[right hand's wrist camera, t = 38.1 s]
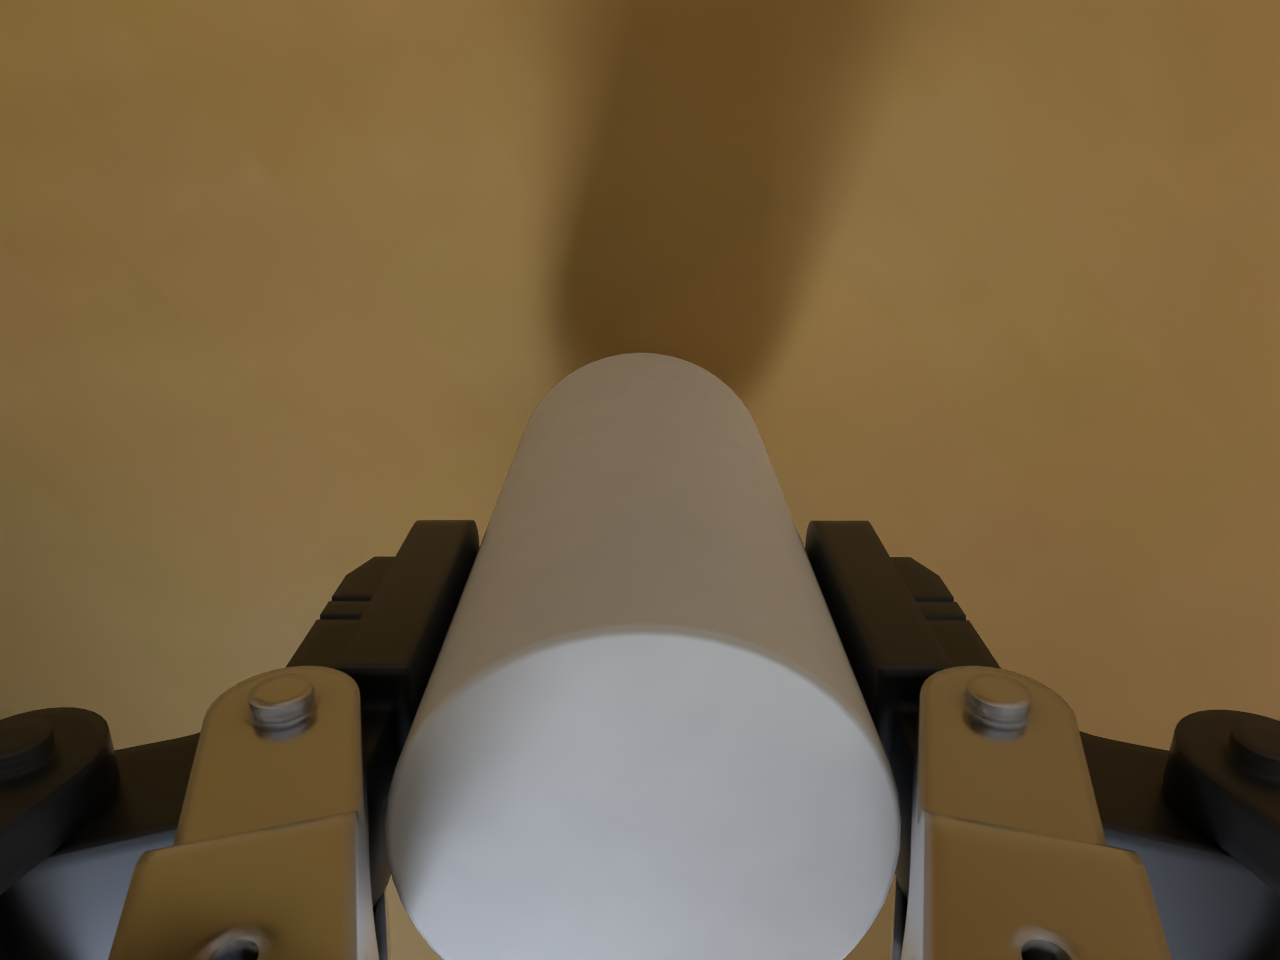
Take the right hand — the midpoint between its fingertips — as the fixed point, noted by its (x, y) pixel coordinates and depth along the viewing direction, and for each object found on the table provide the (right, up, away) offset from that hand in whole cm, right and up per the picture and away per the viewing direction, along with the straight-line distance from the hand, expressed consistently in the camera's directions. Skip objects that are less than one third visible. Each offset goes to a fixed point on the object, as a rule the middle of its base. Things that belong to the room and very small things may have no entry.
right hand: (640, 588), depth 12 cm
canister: (0, +2, +4) cm, 4 cm away
